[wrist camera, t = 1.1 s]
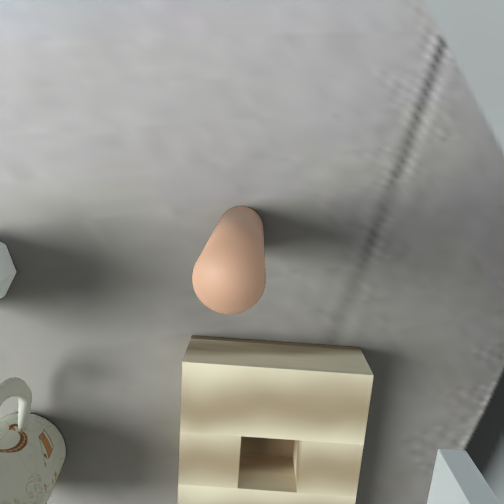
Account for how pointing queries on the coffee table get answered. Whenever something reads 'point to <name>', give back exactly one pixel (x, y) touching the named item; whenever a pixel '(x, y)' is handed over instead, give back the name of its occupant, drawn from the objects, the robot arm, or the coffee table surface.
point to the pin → (232, 263)
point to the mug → (27, 450)
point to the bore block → (271, 422)
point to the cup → (5, 270)
